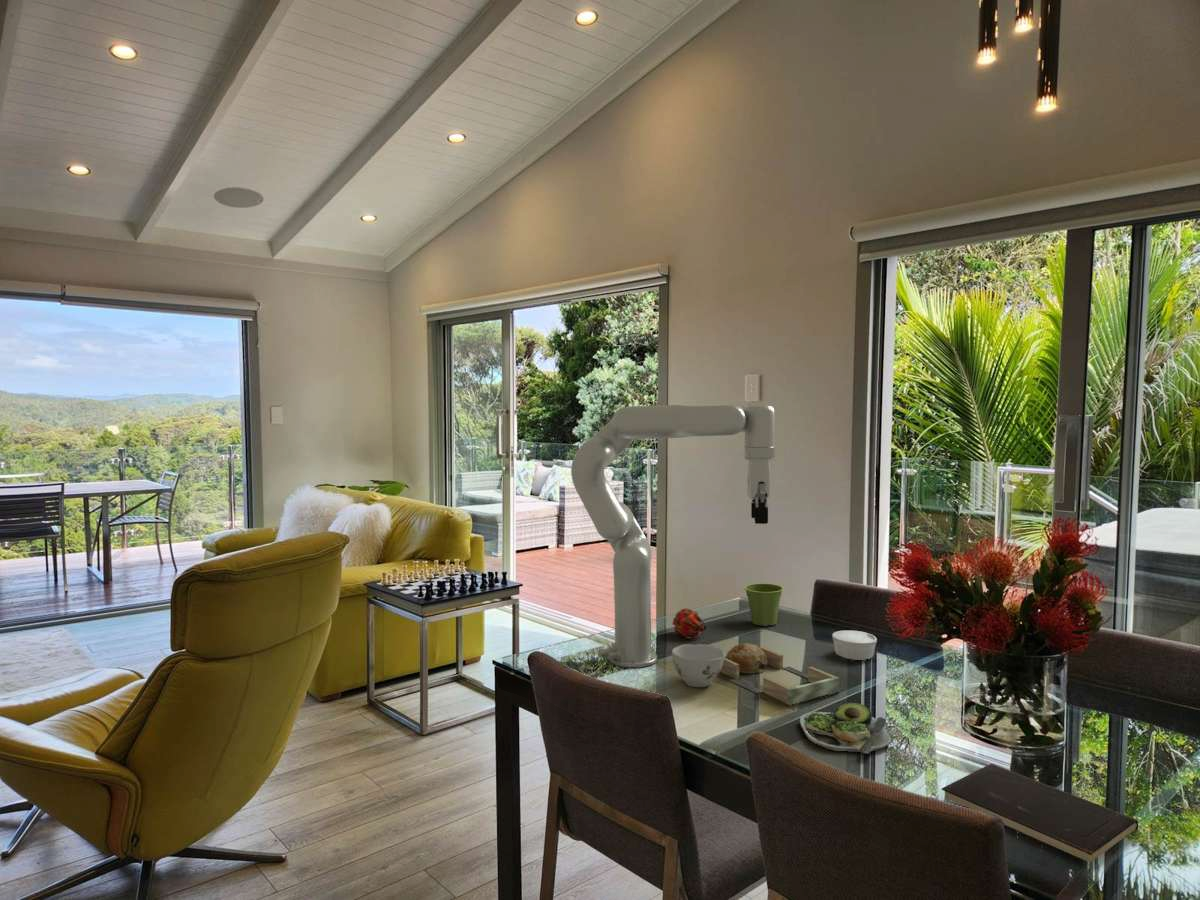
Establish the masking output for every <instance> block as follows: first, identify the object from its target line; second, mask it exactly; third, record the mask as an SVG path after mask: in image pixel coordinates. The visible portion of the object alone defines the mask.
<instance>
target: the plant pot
mask: <svg viewBox="0 0 1200 900" xmlns="http://www.w3.org/2000/svg"><path fill="white" fill-rule="evenodd" d="M743 589H744V590H745V593H746V597H747V600H748V605H749V611H750V618H751V623H752V622H753V623H754V624H757V625H759V626H762V625H764V626H763V627H765V626H766V625H773V626H775V625H776V624H777V623H778V622H777V621H778V615H779V607H780V602H781V597H782V593H783V591H784V589H785V588H784V587H783V586H782V585H779V584H776V583H766V582H765V583H762V582H761V583H759V582H758V583H750V584H746V585H744V586H743ZM753 623H752V624H753ZM754 624H753V625H754ZM774 624H775V625H774ZM757 625H756V626H757Z"/></svg>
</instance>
